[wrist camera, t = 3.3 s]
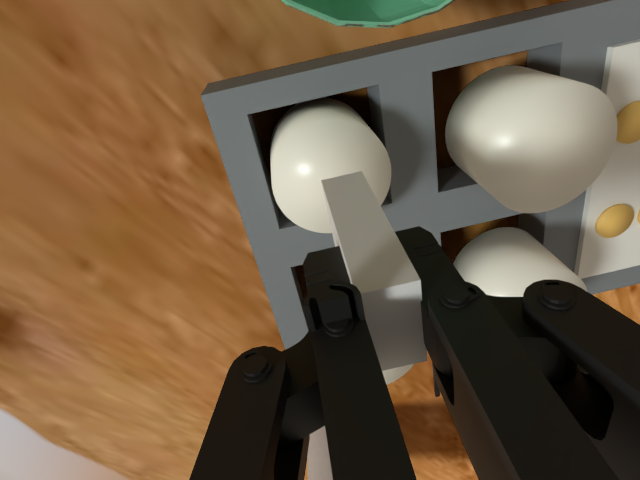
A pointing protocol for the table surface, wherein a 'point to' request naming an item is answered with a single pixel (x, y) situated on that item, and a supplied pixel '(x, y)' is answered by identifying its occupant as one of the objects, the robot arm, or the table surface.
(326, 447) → the coffee cup
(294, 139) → the button
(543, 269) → the button
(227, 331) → the table surface
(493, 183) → the button
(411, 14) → the mug
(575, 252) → the board
